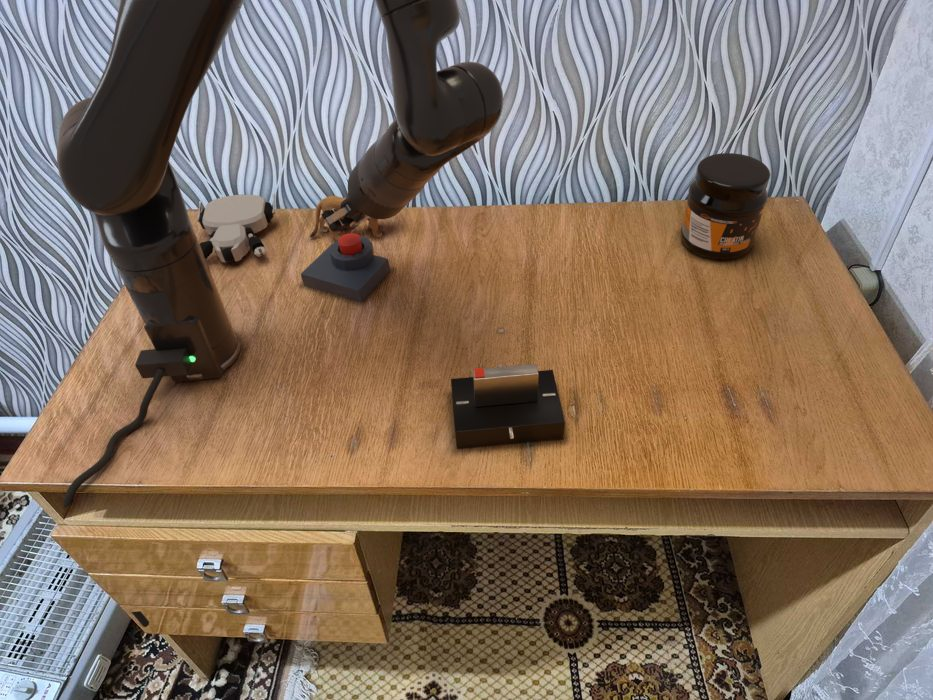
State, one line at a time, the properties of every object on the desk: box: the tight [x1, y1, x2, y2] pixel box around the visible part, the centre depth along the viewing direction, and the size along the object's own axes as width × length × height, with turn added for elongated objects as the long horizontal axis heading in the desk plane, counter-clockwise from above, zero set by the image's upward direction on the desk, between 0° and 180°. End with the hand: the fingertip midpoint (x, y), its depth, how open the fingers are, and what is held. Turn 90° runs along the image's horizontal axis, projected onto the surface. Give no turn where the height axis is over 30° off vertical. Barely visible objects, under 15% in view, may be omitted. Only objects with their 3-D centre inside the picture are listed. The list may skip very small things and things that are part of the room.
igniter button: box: [338, 232, 362, 256], centre depth 95 cm, size 3×3×2 cm
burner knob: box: [472, 363, 539, 407], centre depth 73 cm, size 7×2×5 cm, turn 94°
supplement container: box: [680, 152, 771, 260], centre depth 95 cm, size 10×10×12 cm
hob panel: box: [450, 363, 566, 450], centre depth 75 cm, size 12×11×3 cm
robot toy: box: [196, 192, 277, 264], centre depth 104 cm, size 12×4×15 cm
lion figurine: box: [308, 195, 383, 241], centre depth 102 cm, size 15×5×9 cm, turn 103°
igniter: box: [300, 235, 391, 303], centre depth 96 cm, size 10×9×4 cm
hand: (345, 225), depth 93 cm, fingers closed
